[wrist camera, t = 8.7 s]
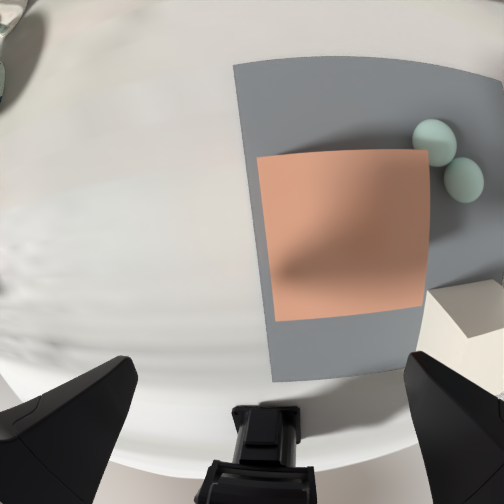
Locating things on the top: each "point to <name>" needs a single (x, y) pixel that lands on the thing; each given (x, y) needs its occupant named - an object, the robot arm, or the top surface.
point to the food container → (2, 79)
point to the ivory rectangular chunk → (467, 331)
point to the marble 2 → (463, 180)
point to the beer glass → (10, 14)
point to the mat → (365, 138)
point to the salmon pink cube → (346, 230)
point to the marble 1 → (435, 141)
